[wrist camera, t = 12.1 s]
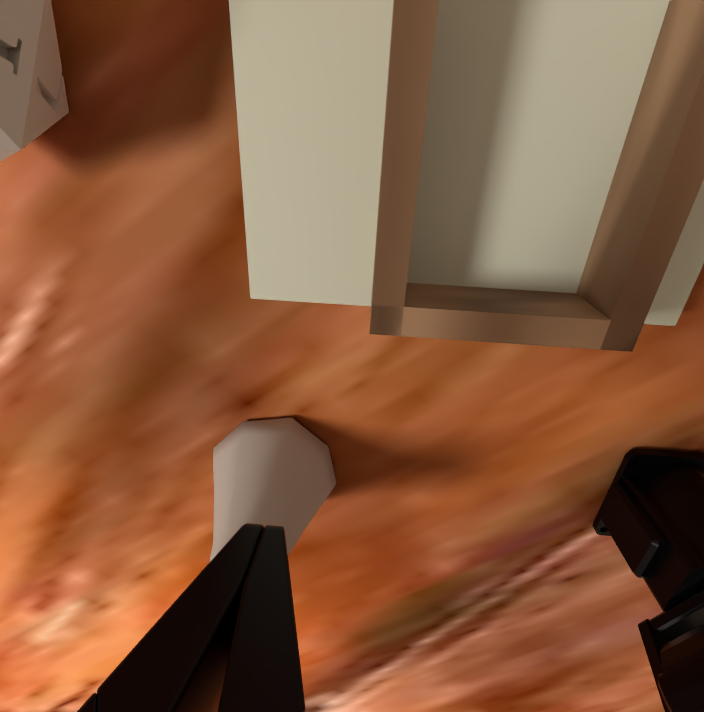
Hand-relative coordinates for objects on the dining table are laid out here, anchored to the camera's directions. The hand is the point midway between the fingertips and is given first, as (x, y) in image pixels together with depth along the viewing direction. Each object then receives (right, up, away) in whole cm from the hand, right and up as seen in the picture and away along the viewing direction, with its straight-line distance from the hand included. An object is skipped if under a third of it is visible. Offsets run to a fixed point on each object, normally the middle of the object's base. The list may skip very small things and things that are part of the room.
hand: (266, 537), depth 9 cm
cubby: (+8, +11, +7) cm, 15 cm away
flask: (-3, -3, +17) cm, 17 cm away
